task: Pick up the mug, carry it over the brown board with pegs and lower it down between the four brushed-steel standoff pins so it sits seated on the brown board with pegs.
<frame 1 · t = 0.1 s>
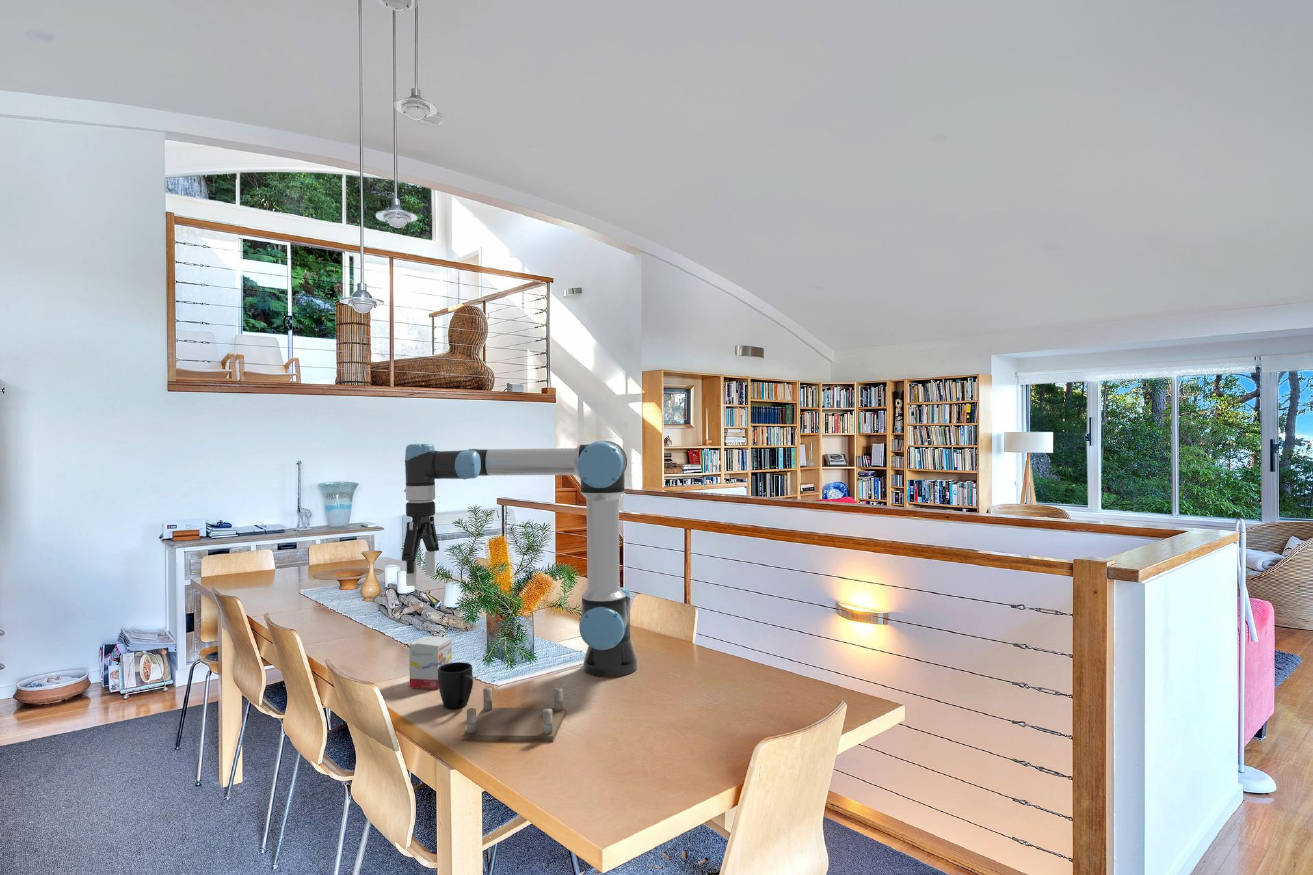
hand: (421, 580, 198), 28 cm above the table, fingers open, 13 cm apart
ink box: (431, 684, 198), on the table
mug: (459, 708, 181), on the table
brown board with pegs: (516, 726, 169), on the table
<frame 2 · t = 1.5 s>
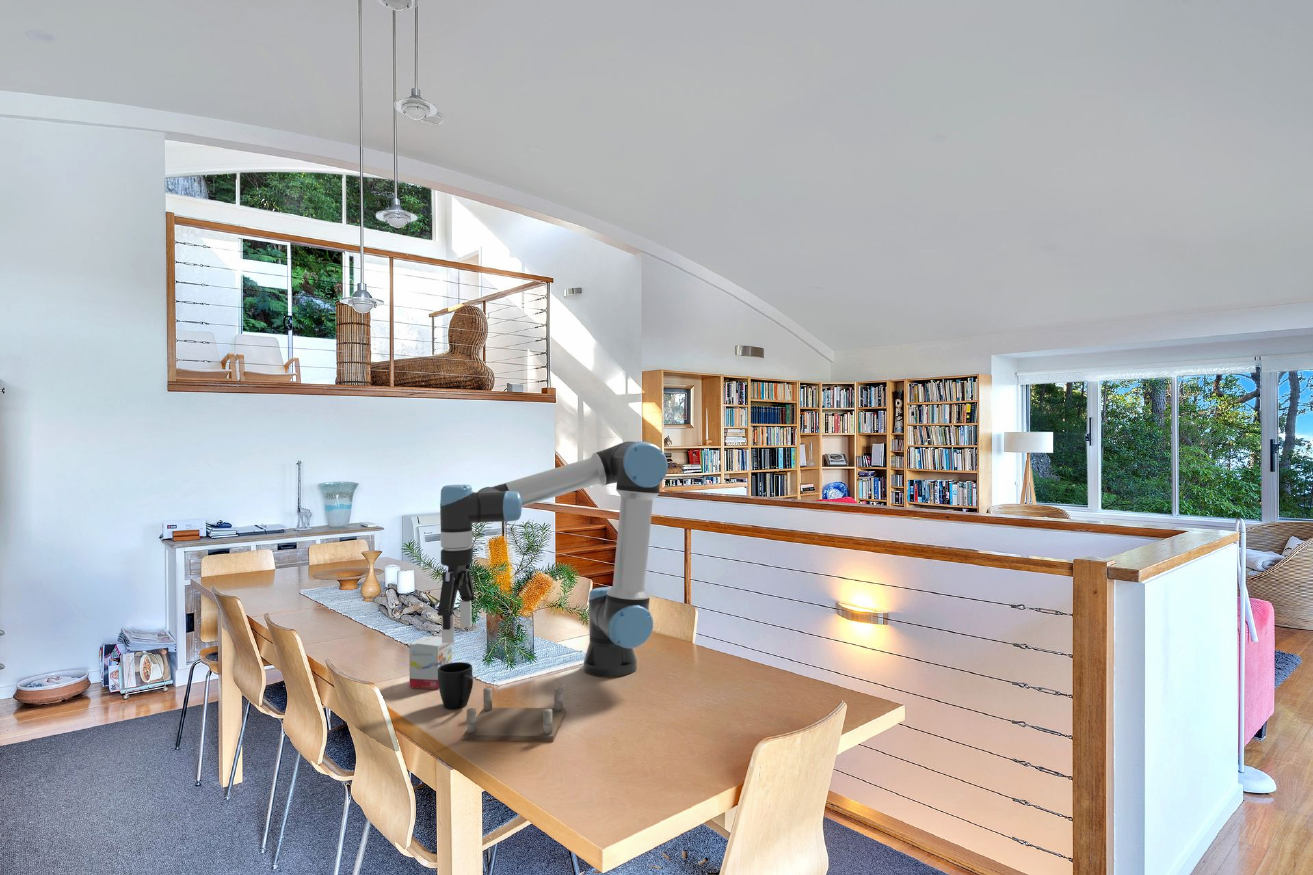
hand: (457, 634, 181), 18 cm above the table, fingers open, 13 cm apart
nothing on the table moved.
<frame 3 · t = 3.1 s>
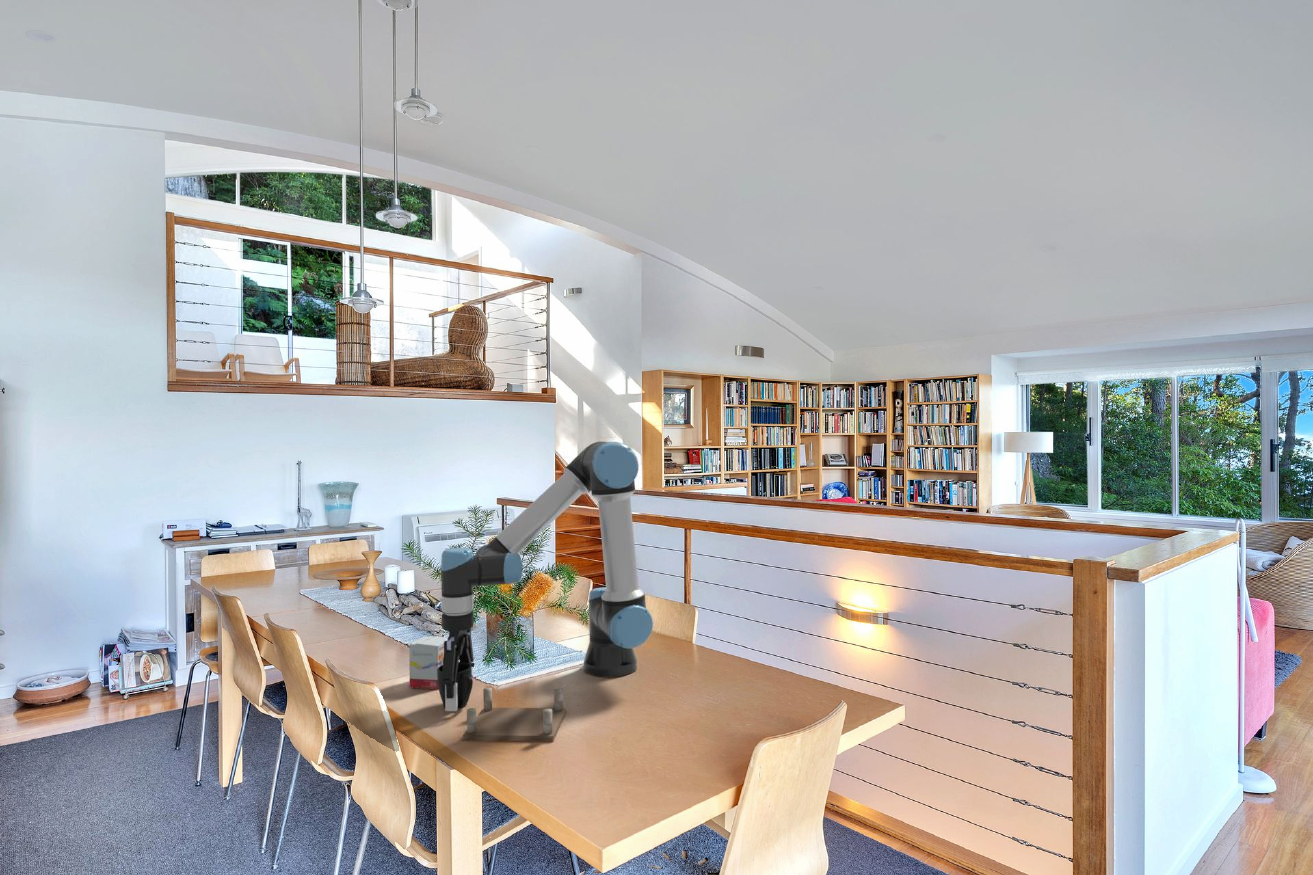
hand: (458, 701, 181), 1 cm above the table, fingers open, 10 cm apart
mug: (458, 708, 181), on the table, touching gripper
everything else where it was.
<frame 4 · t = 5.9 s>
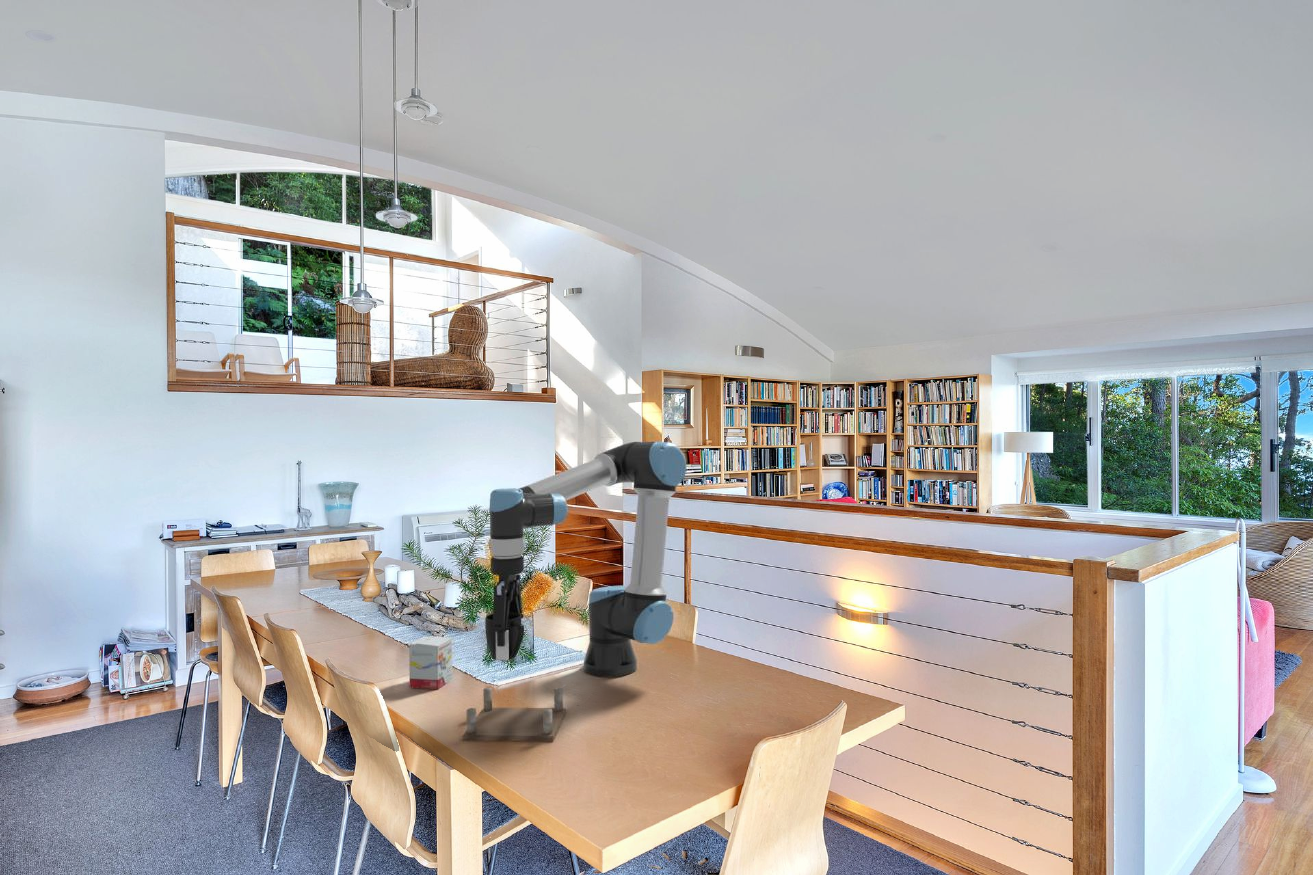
hand: (508, 652, 170), 16 cm above the table, fingers closed on mug, 9 cm apart
mug: (508, 659, 169), point 15 cm above the table, touching gripper
everything else where it was.
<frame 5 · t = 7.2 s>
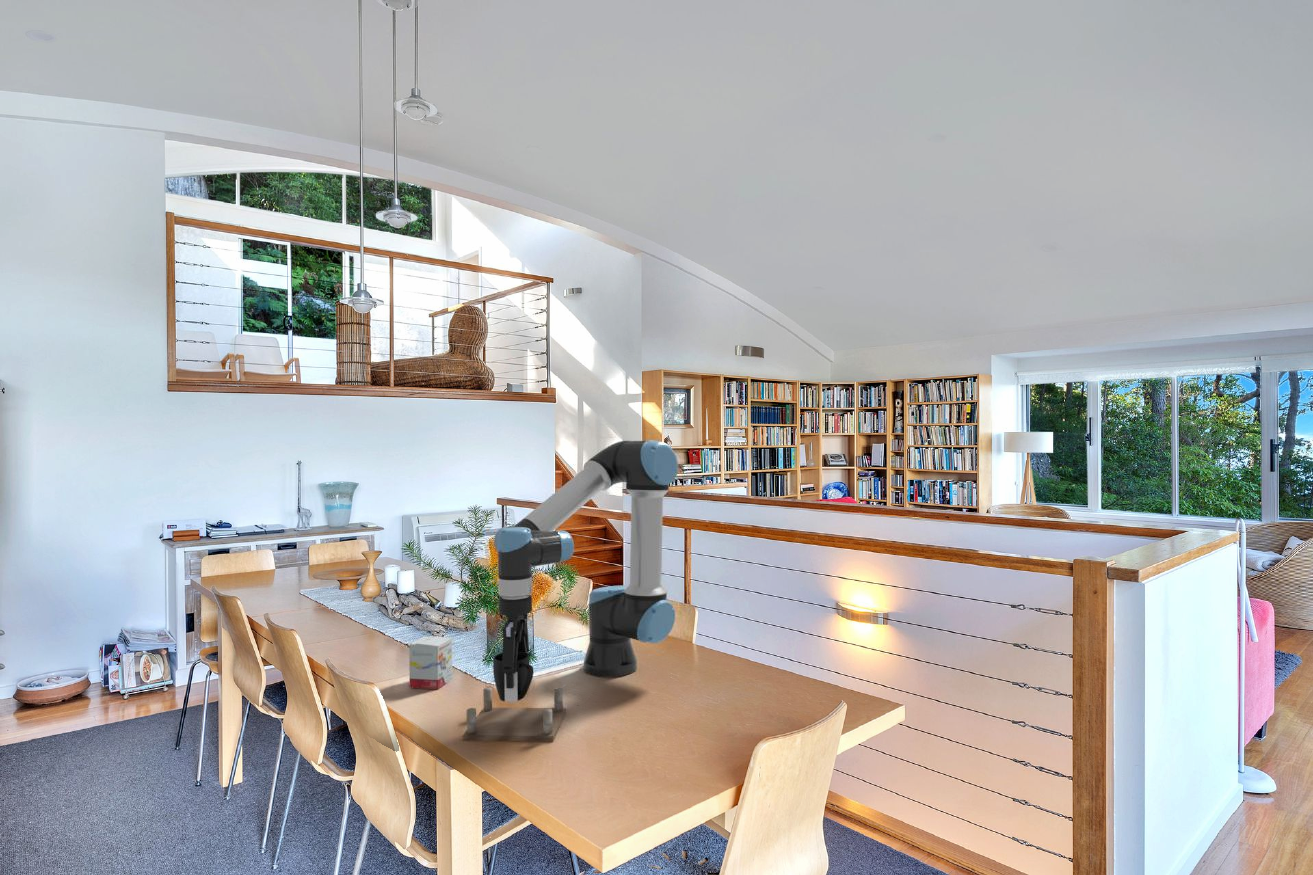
hand: (516, 693, 169), 8 cm above the table, fingers closed on mug, 9 cm apart
mug: (516, 700, 168), point 6 cm above the table, touching gripper
everything else where it was.
when the fingers open (4 cm above the table, at t = 8.4 s): mug drops 2 cm, resting on brown board with pegs.
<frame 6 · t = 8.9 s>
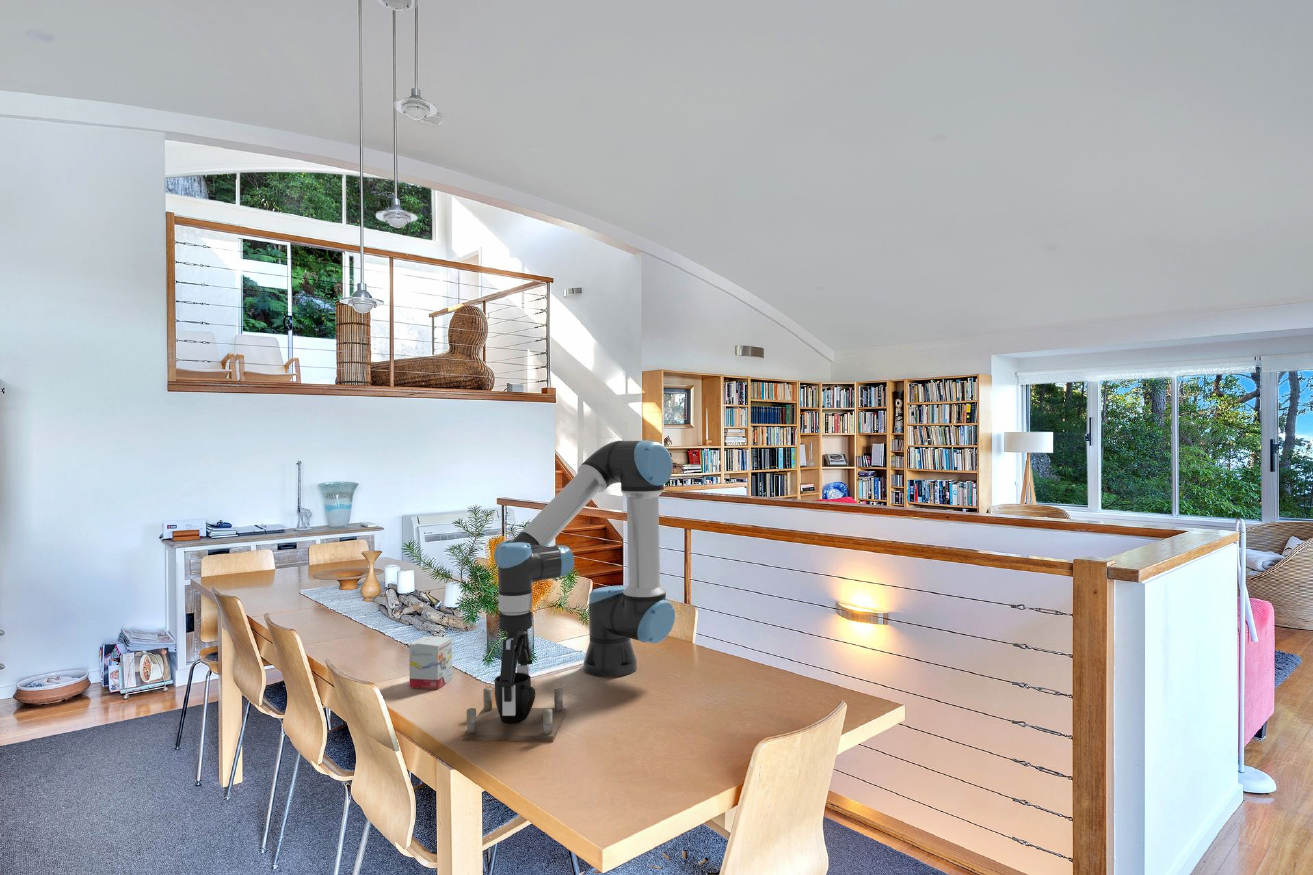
hand: (516, 703, 169), 5 cm above the table, fingers open, 13 cm apart
mug: (517, 722, 169), point 1 cm above the table, touching brown board with pegs
everything else where it was.
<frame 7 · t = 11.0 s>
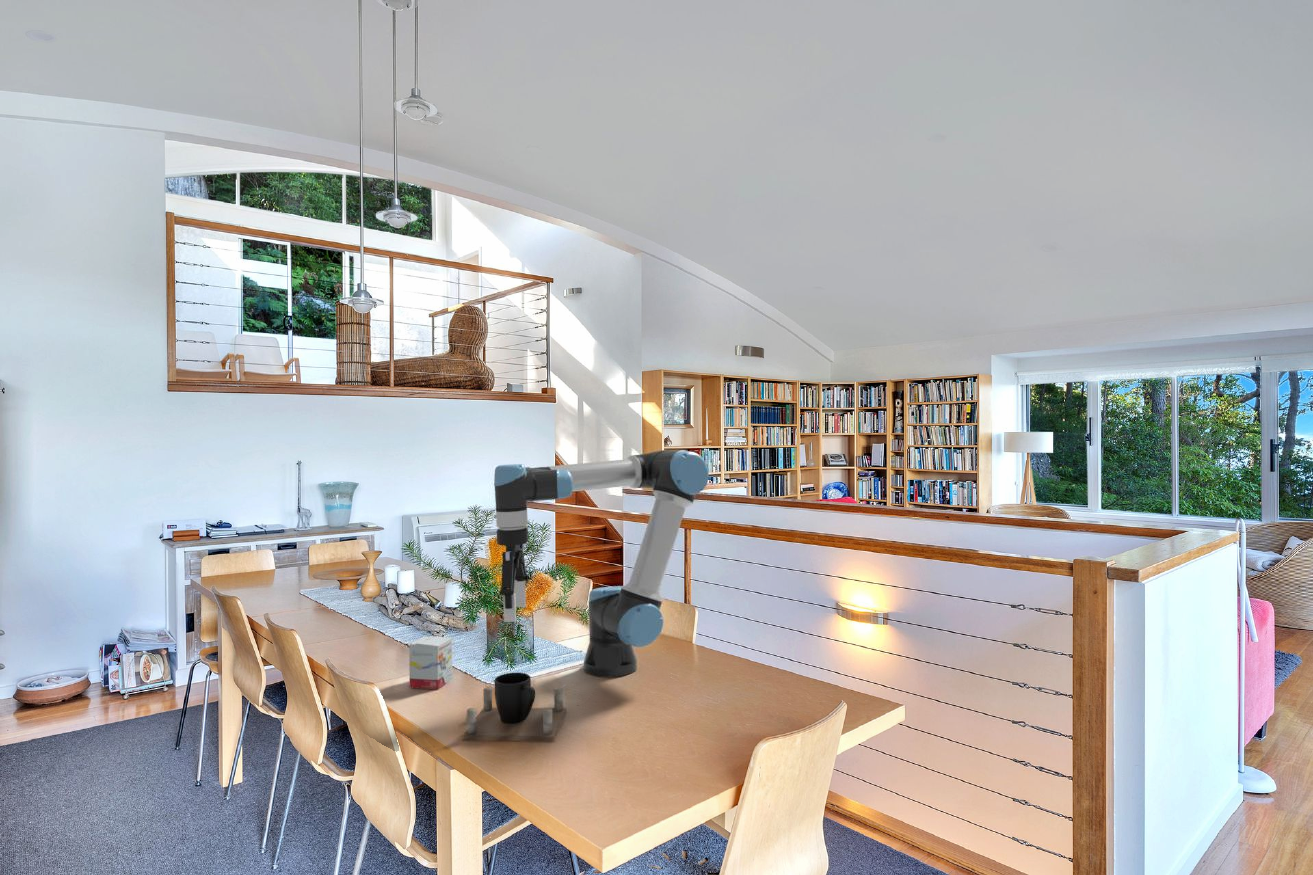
hand: (515, 613, 181), 23 cm above the table, fingers open, 13 cm apart
nothing on the table moved.
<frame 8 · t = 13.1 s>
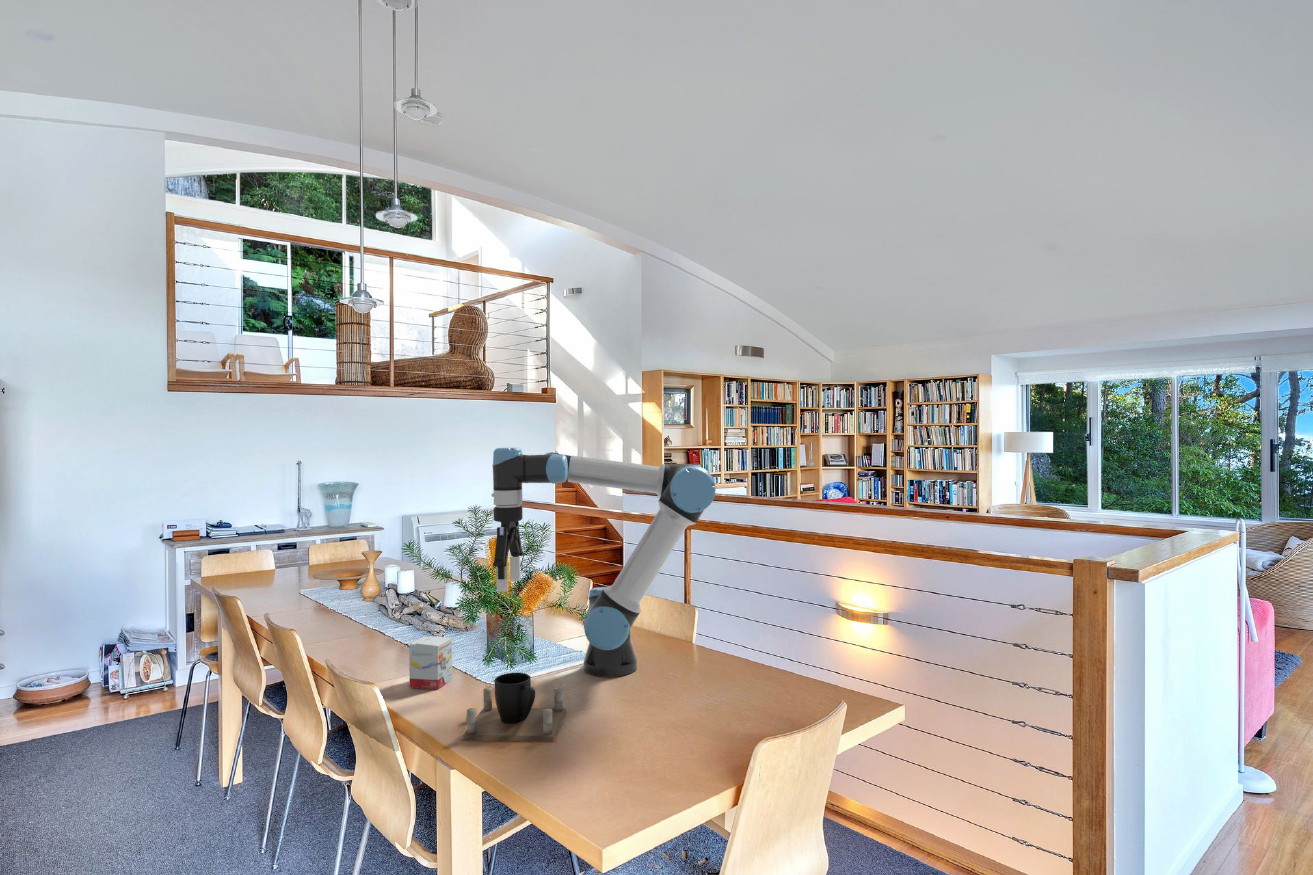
hand: (509, 586, 195), 27 cm above the table, fingers open, 13 cm apart
nothing on the table moved.
at the end: mug inside the target area on the brown board with pegs (0.4 cm from its centre), point 1.0 cm above the brown board with pegs's base; mug touching brown board with pegs; mug tilted 0° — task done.
